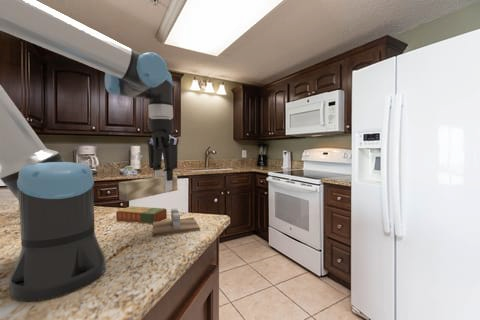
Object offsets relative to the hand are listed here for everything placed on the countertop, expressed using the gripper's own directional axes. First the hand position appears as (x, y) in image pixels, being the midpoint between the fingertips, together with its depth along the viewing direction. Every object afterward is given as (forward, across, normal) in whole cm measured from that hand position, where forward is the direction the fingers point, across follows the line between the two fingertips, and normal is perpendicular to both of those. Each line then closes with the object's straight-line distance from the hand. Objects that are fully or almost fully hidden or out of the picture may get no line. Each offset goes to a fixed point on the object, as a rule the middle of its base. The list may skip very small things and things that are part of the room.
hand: (163, 189), depth 76 cm
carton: (+14, +15, -2) cm, 20 cm away
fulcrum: (+13, -3, -2) cm, 13 cm away
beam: (+1, 0, +5) cm, 5 cm away
